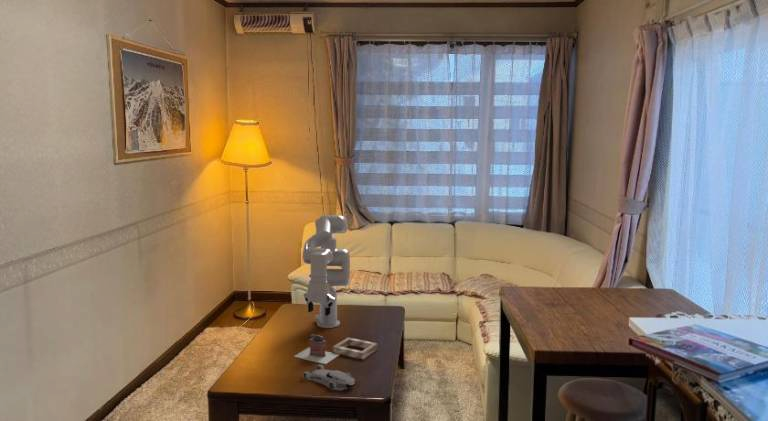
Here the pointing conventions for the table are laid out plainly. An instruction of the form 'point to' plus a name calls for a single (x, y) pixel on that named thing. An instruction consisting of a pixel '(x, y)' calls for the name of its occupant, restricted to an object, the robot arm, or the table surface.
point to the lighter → (317, 346)
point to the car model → (330, 378)
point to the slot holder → (368, 346)
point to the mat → (322, 360)
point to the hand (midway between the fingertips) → (319, 313)
